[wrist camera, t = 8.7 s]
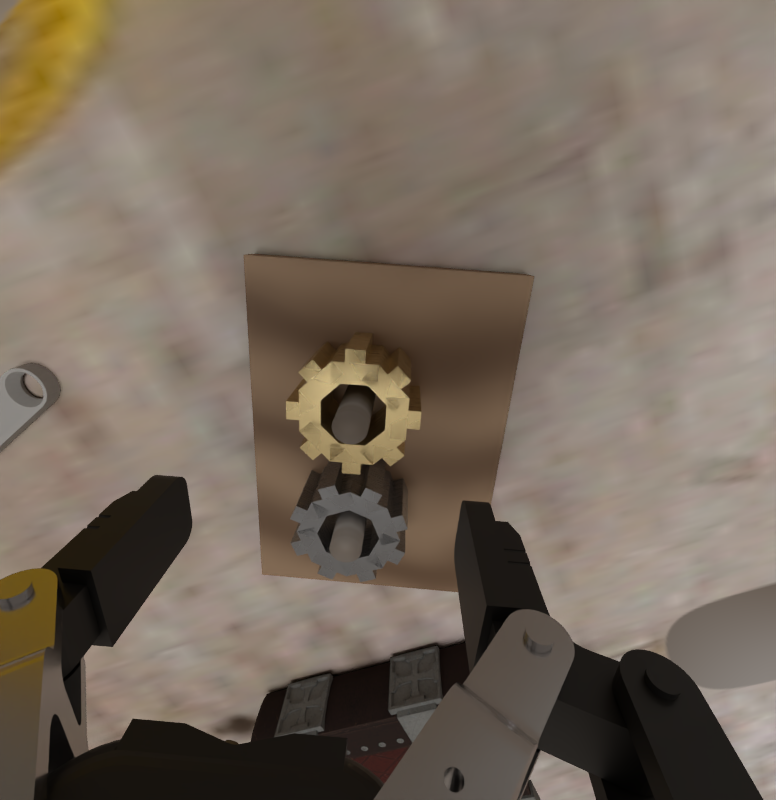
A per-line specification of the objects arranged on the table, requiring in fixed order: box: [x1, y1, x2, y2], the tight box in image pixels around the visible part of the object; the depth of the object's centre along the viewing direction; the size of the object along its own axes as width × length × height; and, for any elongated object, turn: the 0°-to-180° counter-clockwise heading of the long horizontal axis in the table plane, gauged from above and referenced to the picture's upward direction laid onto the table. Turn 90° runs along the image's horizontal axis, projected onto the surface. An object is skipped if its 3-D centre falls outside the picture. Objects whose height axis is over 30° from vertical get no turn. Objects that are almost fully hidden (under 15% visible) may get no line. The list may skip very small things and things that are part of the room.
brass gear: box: [286, 332, 422, 475], centre depth 20 cm, size 6×6×4 cm
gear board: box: [244, 254, 534, 592], centre depth 22 cm, size 20×14×6 cm
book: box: [225, 643, 540, 800], centre depth 33 cm, size 15×25×5 cm, turn 114°
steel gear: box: [290, 458, 408, 582], centre depth 23 cm, size 6×6×4 cm
